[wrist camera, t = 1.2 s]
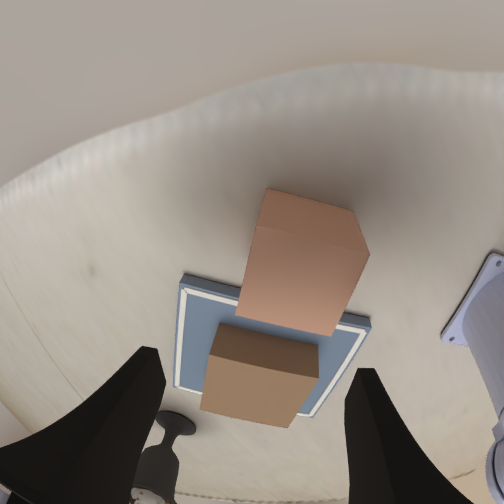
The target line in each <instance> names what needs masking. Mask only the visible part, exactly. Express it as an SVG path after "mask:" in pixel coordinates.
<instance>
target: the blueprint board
mask: <svg viewBox="0 0 504 504" xmlns="http://www.w3.org/2000/svg"><path fill="white" fill-rule="evenodd" d="M240 292H241V289H240V288H236V287H232V286H228V285H224V284H220V283H216V282H213V281H209V280H205V279H201V278H197V277H193V276H190V275H186V274H184V275H183V277H182V279H181V280H180V282H179V293H178V305H177V318H176V333H175V351H174V372H173V387H175V388H179V389H182V390H185V391H189V392H192V393H196V394H200V395H202V398H201V404H200V410H204V411H207V412H211V413H215V414H219V415H224V416H228V417H232V418H237V419H241V420H246V421H251V422H256V423H261V424H266V425H271V426H277V427H283V428H288V427H289V425H290V424H291V422H292V421H293V419H294V418H295V416H296V415H298V416H304V417H311V418H313V417H314V416H315V414H316V413H317V411H318V410H319V409H320V407H321V406H322V404H323V403H324V402H325V400H326V399H327V397H328V396H329V394H330V393H331V392H332V390H333V389H334V387H335V386H336V384H337V383H338V381H339V380H340V378H341V377H342V375H343V374H344V372H345V371H346V369H347V368H348V366H349V364H350V363H351V361H352V360H353V358H354V356H355V355H356V353H357V352H358V350H359V348H360V347H361V345H362V343H363V342H364V340H365V338H366V337H367V335H368V333H369V332H370V330H371V328H372V327H371V323H370V318H366V317H361V316H357V315H352V314H347V313H343V314H342V316H341V318H340V320H339V322H338V324H337V326H336V328H335V330H334V332H333V334H332V336H331V337H330V336H325V335H321V334H316V333H311V332H306V331H302V330H297V329H293V328H288V327H284V326H279V325H275V324H271V323H266V322H262V321H258V320H254V319H250V318H245V317H241V316H237V315H235V313H236V308H237V304H238V300H239V296H240Z"/></svg>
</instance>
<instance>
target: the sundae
mask: <svg viewBox="0 0 504 504" xmlns="http://www.w3.org/2000/svg"><path fill="white" fill-rule="evenodd" d="M155 419H156V421H157V422H158V424H159V425H161V426H162V427H163V428H164V429H165V435H164V438H163V440H162V443H161V444H159V445H154V446H150V447H148V448H145V450H144V451H143V452H142V453H141V455H140V458H139V462H138V465H137V469H136V473H135V477H134V482H133V486H132V491H131V496H130V501H129V504H177V503H176V502H175V500H174V493H175V486H176V481H177V476H178V470H179V461H178V458H177V456H176V455H175V453H174V452H173V450H172V445H173V443H174V440H175V439H176V437H177V436H178V435H192V434H194V433H195V432H196V428H195V426H194V425H193V423H192V422H191V421H189V420H188V419H186V418H185V417H183V416H181V415H179V414H176V413H173V412H168V411H160V412H158V413H157V415H156V417H155Z"/></svg>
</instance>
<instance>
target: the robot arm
mask: <svg viewBox="0 0 504 504" xmlns="http://www.w3.org/2000/svg"><path fill="white" fill-rule="evenodd" d="M497 261H499V262H498V263H497ZM496 263H497V264H496ZM440 338H441V340H442V342H444V343H450V344H457V345H463V346H469V348H470V350H471V352H472V354H473V356H474V359H475V361H476V363H477V365H478V368H479V370H480V372H481V375H482V377H483V380H484V382H485V385H486V387H487V390H488V392H489V395H490V397H491V400H492V403H493V405H494V408H495V411H496V414H497V417H498V419H499V422H498V423H497V424H496V425H495V426H494V427H493V428H492V431H493V434H494V437H495V442H494V443H493V444H492V446H491V447H490V449H489V452H488V455H487V459H486V479H487V484H488V488H489V491H490V493H491V495H492V497H493V498H494V500H495V501H496V502H497V504H504V256H501V255H499V254H496V253H492V254H490V255H489V256H488V258H487V260H486V262H485V264H484V266H483V267H482V269H481V271H480V273H479V275H478V277H477V278H476V280H475V282H474V284H473V285H472V287H471V289H470V291H469V292H468V294H467V296H466V297H465V299H464V300H463V302H462V304H461V305H460V307H459V309H458V310H457V312H456V313H455V315H454V316H453V318H452V319H451V321H450V322H449V324H448V325H447V327H446V328H445V330H444V331H443V333H442V334H441V337H440ZM165 386H166V379H165V376H164V372H163V368H162V365H161V361H160V358H159V354H158V350H157V349H156V348H151V347H146V346H142V347H140V348H139V349H138V350H137V351H136V352H135V353H134V354H133V355H132V356H131V357H130V358H129V360H128V361H127V362H126V363H125V364H124V365H123V366H122V367H121V368H120V369H119V370H118V371H117V372H116V373H115V374H114V375H113V376H112V377H111V378H109V379H108V380H107V381H106V382H105V383H104V384H103V385H102V386H101V387H100V388H99V389H98V390H97V391H95V392H94V393H93V394H92V395H91V396H90V397H89V398H87V399H86V400H85V401H84V402H83V403H81V404H80V405H79V406H78V407H76V408H75V409H74V410H72V411H71V412H70V413H68V414H67V415H65V416H64V417H62V418H61V419H59V420H58V421H56V422H55V423H53V424H51V425H50V426H48V427H46V428H45V429H43V430H41V431H39V432H37V433H35V434H33V435H31V436H29V437H27V438H25V439H22V440H20V441H18V442H15V443H12V444H10V445H7V446H4V447H1V448H0V484H2V485H3V486H5V487H6V488H7V489H9V490H10V491H12V492H11V494H8V493H7V492H5V491H4V490H2V489H1V488H0V504H129V501H130V496H131V491H132V486H133V482H134V477H135V473H136V469H137V465H138V462H139V458H140V455H141V452H142V450H143V447H144V445H145V442H146V440H147V437H148V435H149V432H150V430H151V427H152V425H153V422H154V420H155V417H156V415H157V412H158V410H159V407H160V405H161V401H162V397H163V393H164V389H165ZM344 425H345V435H346V445H347V455H348V466H349V482H350V487H349V504H474V503H472V502H471V501H470V500H469V499H467V498H466V497H465V496H464V495H463V494H461V492H459V491H458V490H457V489H456V488H455V487H454V486H453V485H452V484H451V483H450V482H449V481H448V480H447V479H446V478H445V477H444V476H443V474H442V473H441V472H440V471H439V470H438V469H437V468H436V467H435V466H434V464H433V463H432V462H431V461H430V460H429V458H428V457H427V456H426V454H425V453H424V452H423V450H422V449H421V448H420V446H419V445H418V443H417V442H416V441H415V439H414V438H413V436H412V435H411V433H410V431H409V430H408V428H407V427H406V425H405V424H404V422H403V420H402V419H401V417H400V415H399V413H398V412H397V410H396V408H395V406H394V405H393V403H392V401H391V399H390V397H389V395H388V394H387V392H386V390H385V388H384V386H383V384H382V382H381V380H380V378H379V376H378V374H377V372H376V370H375V369H374V368H358V369H357V371H356V374H355V376H354V379H353V381H352V384H351V386H350V389H349V391H348V393H347V396H346V398H345V412H344Z"/></svg>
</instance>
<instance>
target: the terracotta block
mask: <svg viewBox="0 0 504 504" xmlns="http://www.w3.org/2000/svg"><path fill="white" fill-rule="evenodd" d="M369 256H370V253H369V250H368V247H367V245H366V242H365V240H364V237H363V235H362V232H361V230H360V227H359V225H358V222H357V220H356V217H355V215H354V213H353V211H350V210H347V209H343V208H340V207H336V206H333V205H329V204H326V203H322V202H318V201H315V200H311V199H307V198H303V197H300V196H296V195H292V194H288V193H284V192H280V191H276V190H272V189H268V188H267V190H266V193H265V197H264V200H263V204H262V207H261V210H260V214H259V217H258V221H257V224H256V228H255V233H254V237H253V241H252V245H251V249H250V254H249V258H248V262H247V266H246V271H245V275H244V279H243V283H242V287H241V292H240V296H239V300H238V304H237V308H236V313H235V315H237V316H241V317H245V318H250V319H254V320H258V321H262V322H266V323H271V324H275V325H279V326H284V327H288V328H293V329H297V330H302V331H306V332H311V333H316V334H321V335H325V336H330V337H331V336H332V334H333V332H334V330H335V328H336V326H337V324H338V322H339V320H340V318H341V316H342V314H343V312H344V310H345V308H346V306H347V304H348V302H349V300H350V297H351V295H352V293H353V291H354V289H355V287H356V285H357V282H358V280H359V278H360V276H361V274H362V271H363V269H364V267H365V265H366V262H367V260H368V258H369Z"/></svg>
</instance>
